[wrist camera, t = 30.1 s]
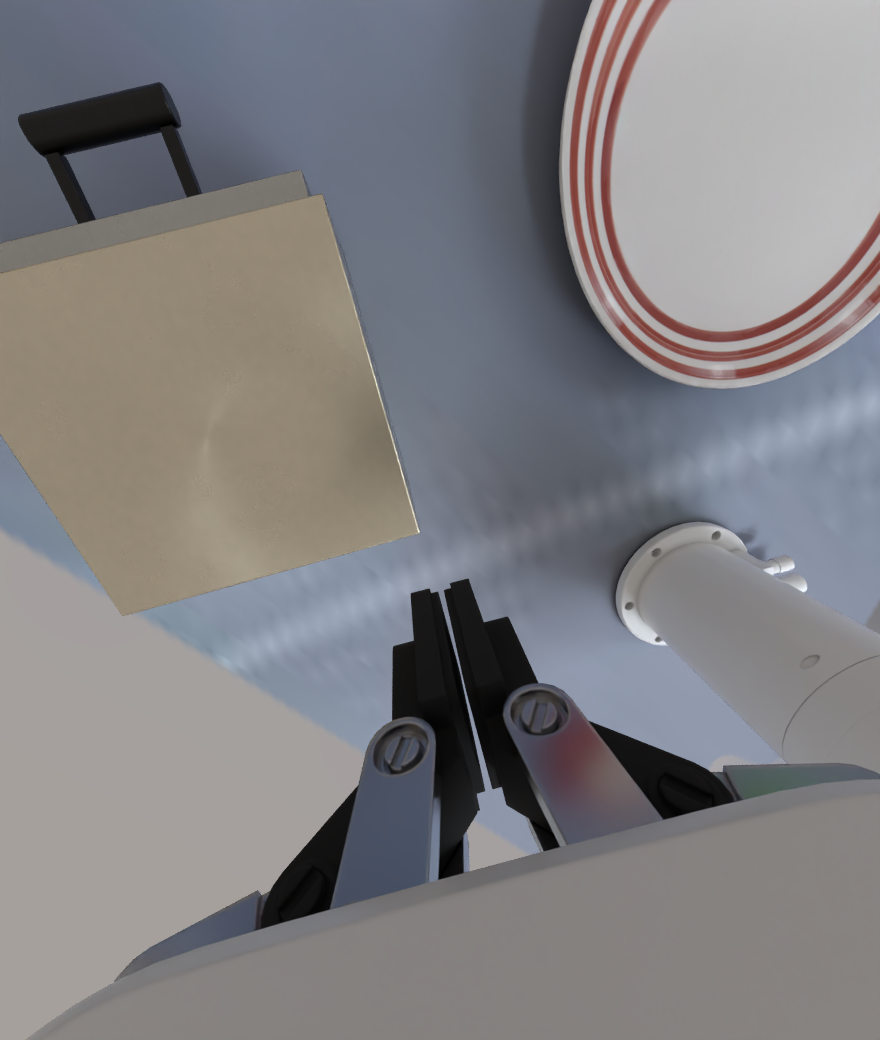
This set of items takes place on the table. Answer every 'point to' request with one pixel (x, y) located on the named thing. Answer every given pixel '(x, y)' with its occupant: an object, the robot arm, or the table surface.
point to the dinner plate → (725, 181)
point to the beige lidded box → (202, 404)
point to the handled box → (116, 123)
